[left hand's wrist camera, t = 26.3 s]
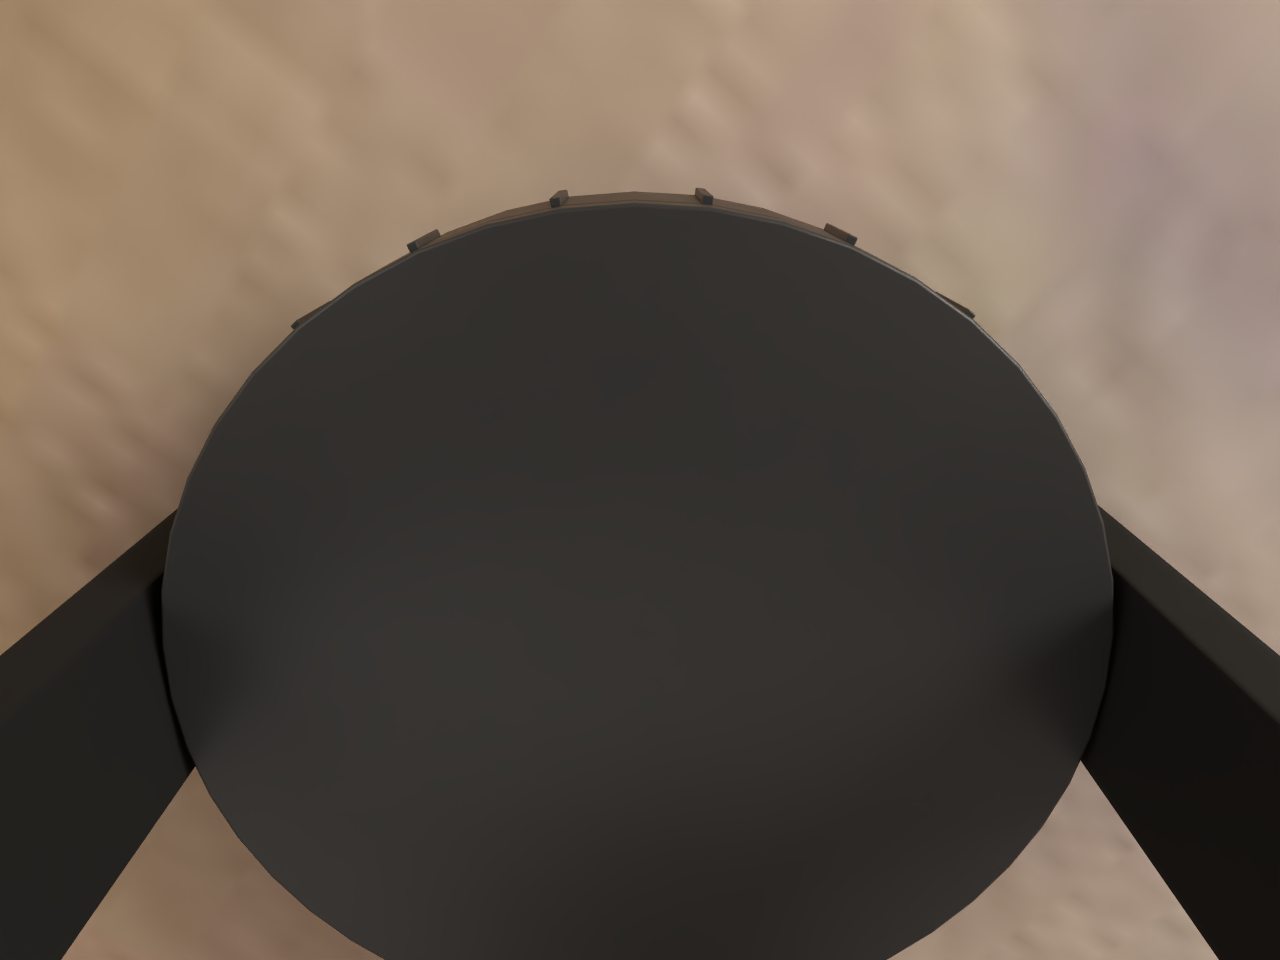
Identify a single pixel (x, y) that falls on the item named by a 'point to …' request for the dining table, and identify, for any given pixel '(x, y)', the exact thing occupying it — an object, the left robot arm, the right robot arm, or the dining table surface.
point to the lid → (637, 596)
